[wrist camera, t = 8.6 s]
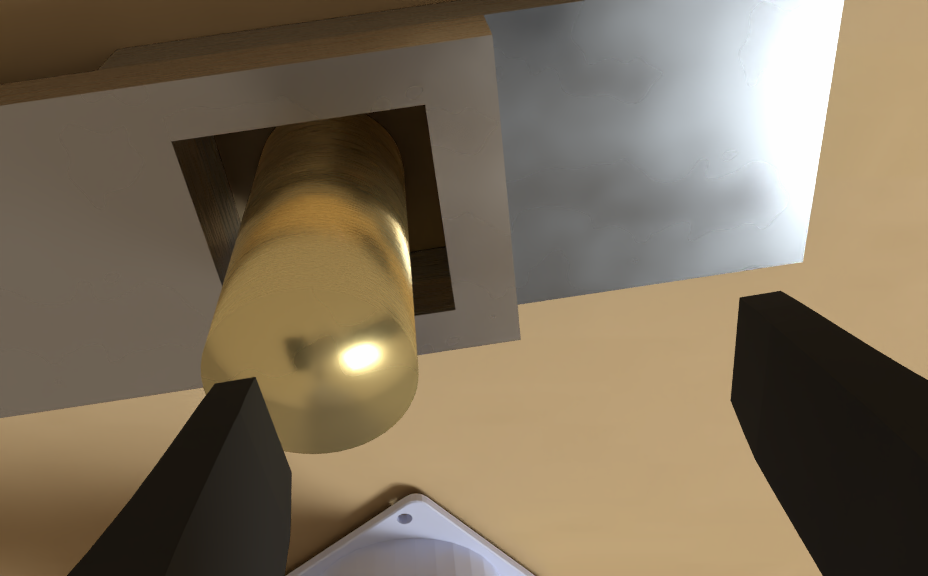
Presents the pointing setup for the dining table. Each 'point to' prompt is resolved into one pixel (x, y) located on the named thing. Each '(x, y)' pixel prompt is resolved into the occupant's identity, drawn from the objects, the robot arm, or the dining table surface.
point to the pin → (322, 287)
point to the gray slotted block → (455, 162)
